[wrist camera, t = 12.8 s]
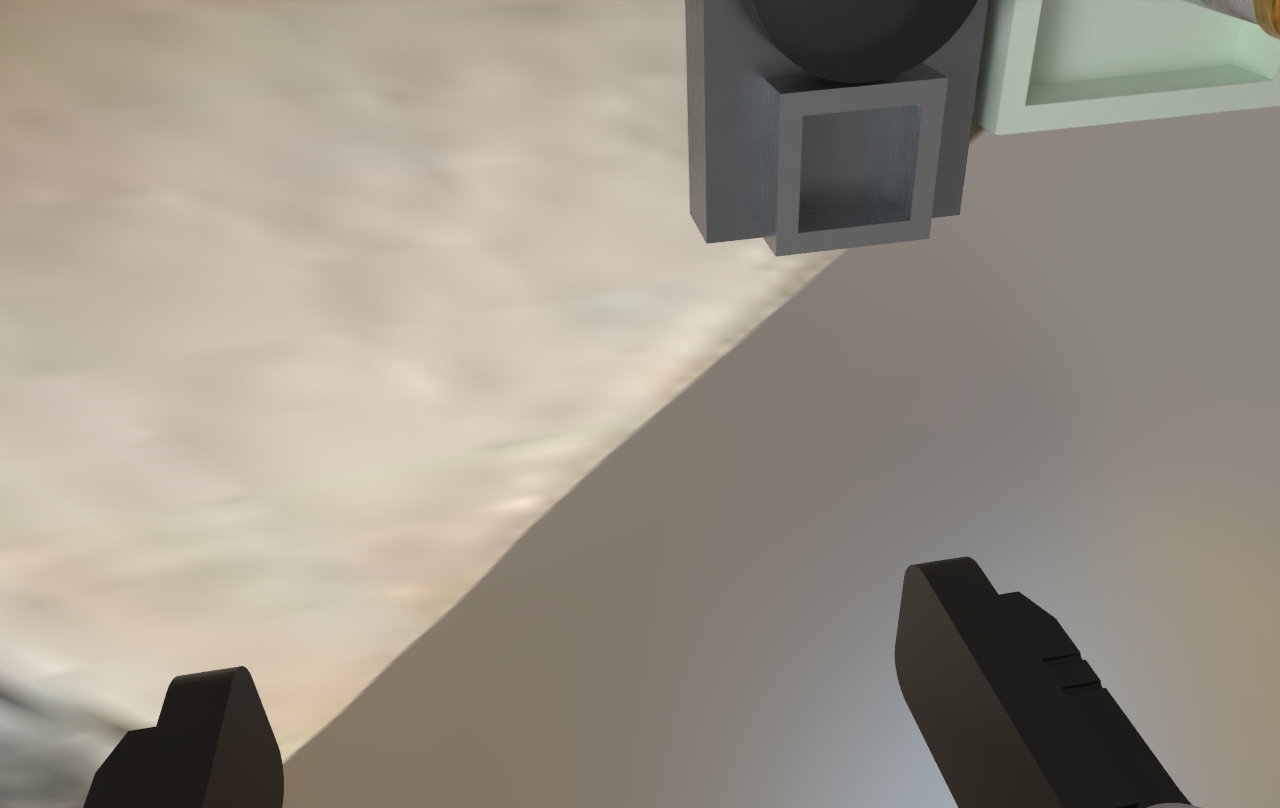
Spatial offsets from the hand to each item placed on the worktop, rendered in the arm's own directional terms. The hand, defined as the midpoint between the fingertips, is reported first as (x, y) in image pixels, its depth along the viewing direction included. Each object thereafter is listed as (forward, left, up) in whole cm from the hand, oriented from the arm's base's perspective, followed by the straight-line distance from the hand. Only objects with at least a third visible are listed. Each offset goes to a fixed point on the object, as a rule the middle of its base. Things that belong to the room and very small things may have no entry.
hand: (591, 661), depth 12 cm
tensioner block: (-1, +12, -28) cm, 31 cm away
